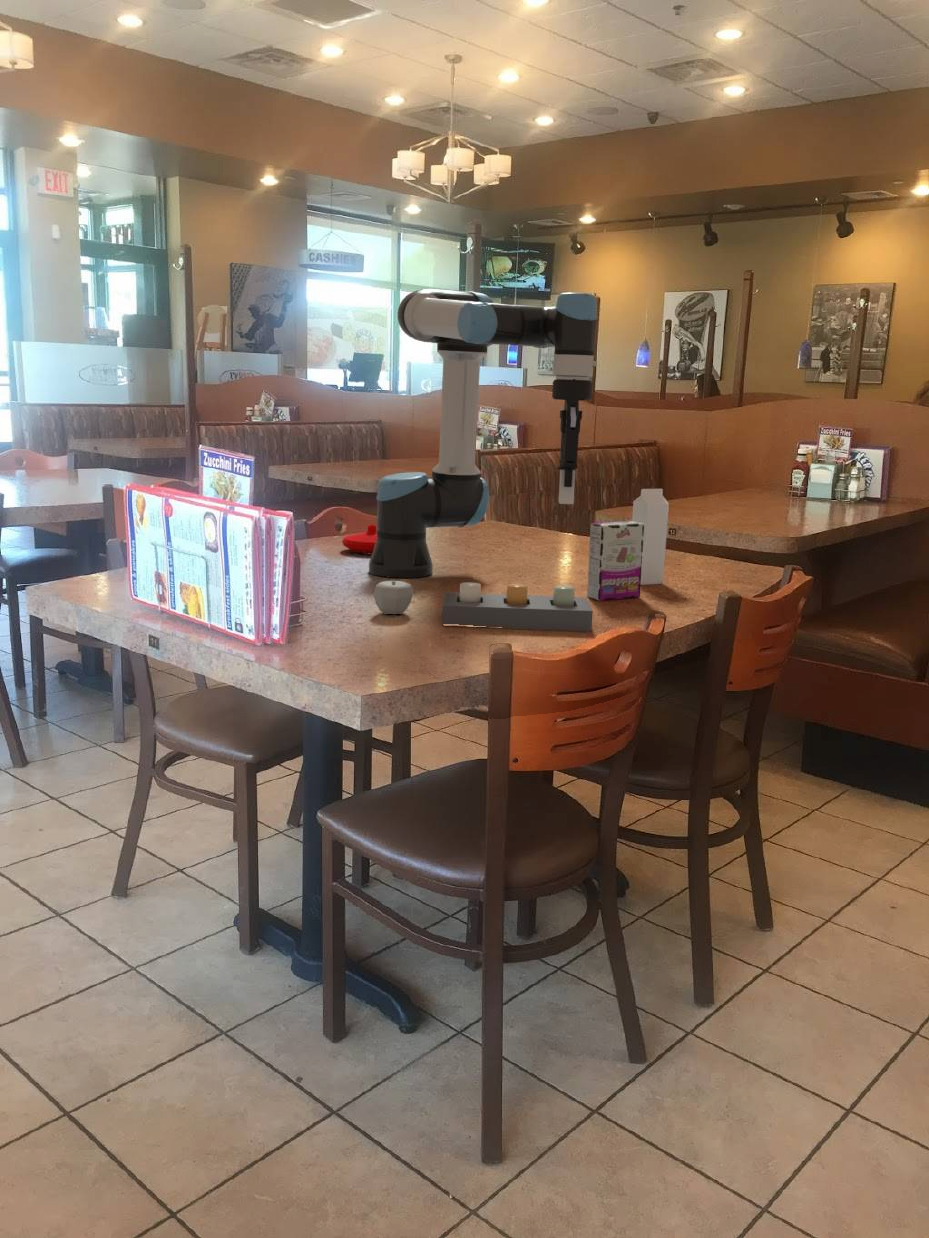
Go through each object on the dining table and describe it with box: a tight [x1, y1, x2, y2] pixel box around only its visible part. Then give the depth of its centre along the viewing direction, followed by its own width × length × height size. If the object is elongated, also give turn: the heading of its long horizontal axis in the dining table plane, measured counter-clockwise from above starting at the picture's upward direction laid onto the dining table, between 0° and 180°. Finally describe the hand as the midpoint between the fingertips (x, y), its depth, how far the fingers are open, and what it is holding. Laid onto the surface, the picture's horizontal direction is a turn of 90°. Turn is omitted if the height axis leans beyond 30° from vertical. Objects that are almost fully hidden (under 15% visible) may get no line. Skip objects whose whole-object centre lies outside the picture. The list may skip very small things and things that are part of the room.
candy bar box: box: [586, 520, 644, 602], centre depth 216 cm, size 11×5×16 cm, turn 117°
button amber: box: [506, 583, 529, 605], centre depth 192 cm, size 4×4×4 cm
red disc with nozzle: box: [341, 524, 377, 554], centre depth 265 cm, size 16×16×7 cm
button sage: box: [552, 585, 576, 606], centre depth 192 cm, size 4×4×4 cm
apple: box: [373, 580, 414, 615], centre depth 196 cm, size 8×8×7 cm
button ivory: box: [459, 581, 482, 603], centre depth 192 cm, size 4×4×4 cm
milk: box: [631, 488, 670, 586], centre depth 234 cm, size 6×6×22 cm
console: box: [441, 592, 594, 633], centre depth 193 cm, size 28×12×4 cm, turn 89°
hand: (565, 502), depth 195 cm, fingers closed
